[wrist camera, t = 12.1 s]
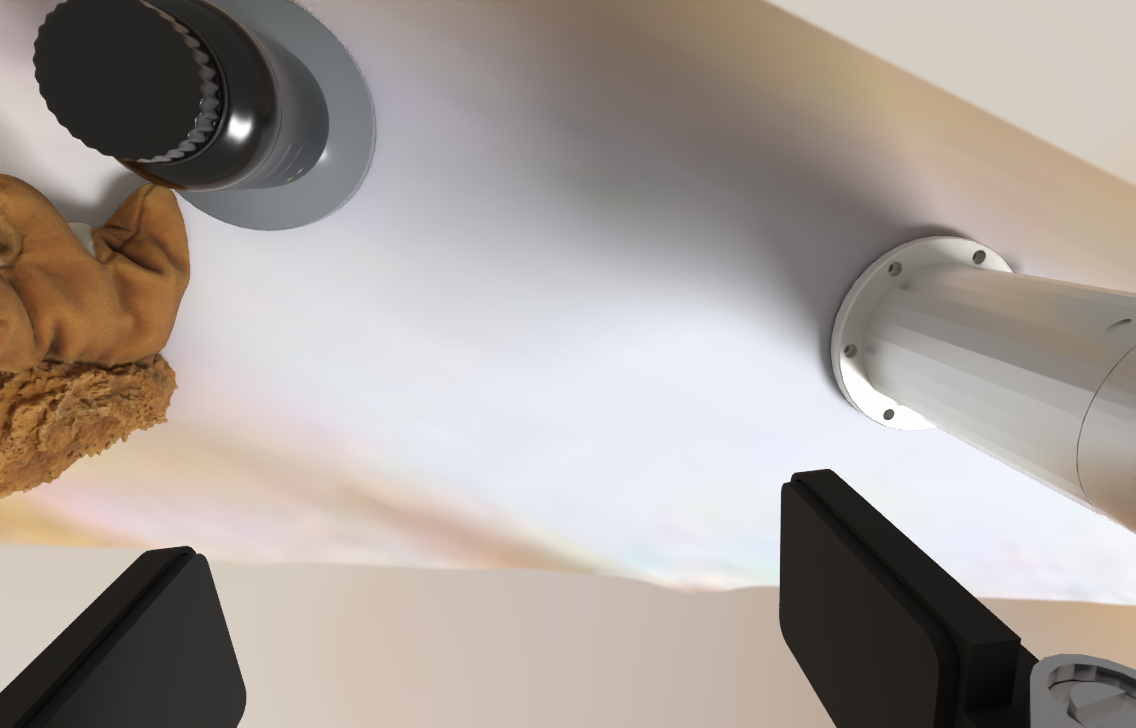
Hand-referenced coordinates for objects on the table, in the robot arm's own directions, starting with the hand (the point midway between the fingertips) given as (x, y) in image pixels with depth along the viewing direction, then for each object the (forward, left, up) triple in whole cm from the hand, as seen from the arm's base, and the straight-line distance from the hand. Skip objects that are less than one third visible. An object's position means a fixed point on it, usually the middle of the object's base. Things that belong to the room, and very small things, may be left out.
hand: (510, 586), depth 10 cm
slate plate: (+10, -11, -27) cm, 30 cm away
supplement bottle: (+10, -11, -25) cm, 29 cm away
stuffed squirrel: (+20, -2, -27) cm, 34 cm away
